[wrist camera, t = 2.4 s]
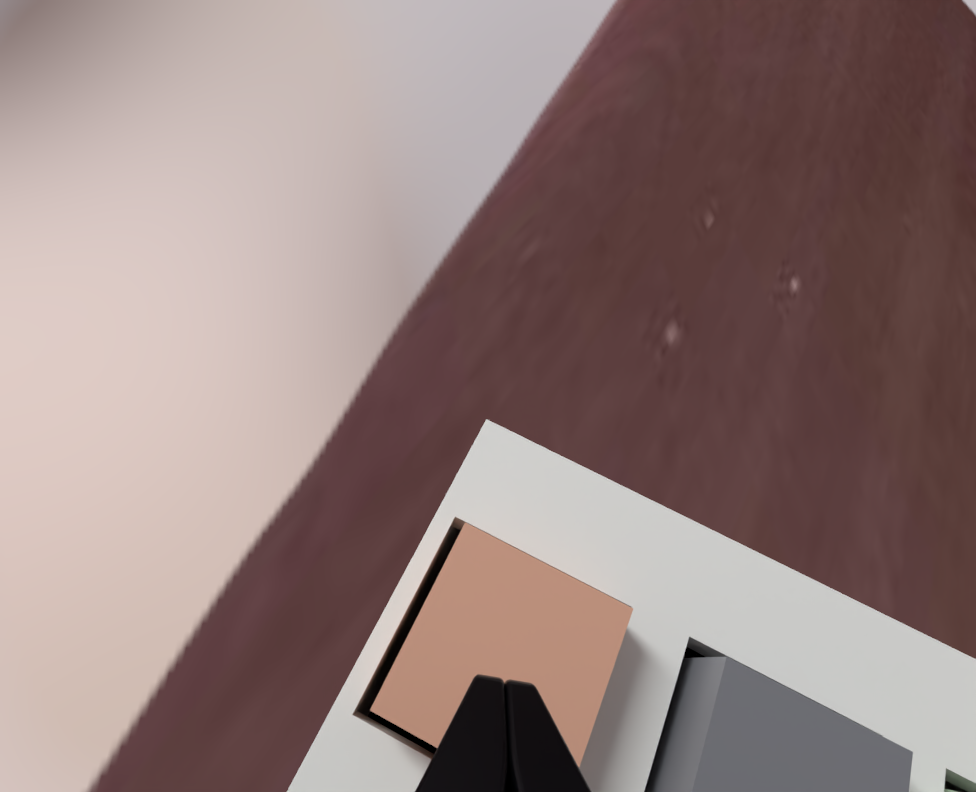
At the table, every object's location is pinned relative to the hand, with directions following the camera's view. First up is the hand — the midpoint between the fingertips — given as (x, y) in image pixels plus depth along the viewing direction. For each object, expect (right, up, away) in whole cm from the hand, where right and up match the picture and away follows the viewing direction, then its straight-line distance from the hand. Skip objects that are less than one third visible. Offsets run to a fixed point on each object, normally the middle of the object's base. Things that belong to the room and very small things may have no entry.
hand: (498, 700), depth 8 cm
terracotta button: (0, -2, +5) cm, 5 cm away
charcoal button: (+5, -4, +4) cm, 7 cm away
